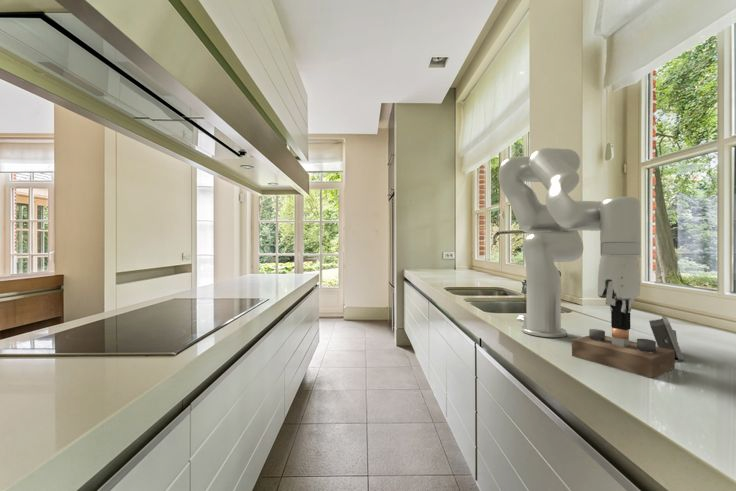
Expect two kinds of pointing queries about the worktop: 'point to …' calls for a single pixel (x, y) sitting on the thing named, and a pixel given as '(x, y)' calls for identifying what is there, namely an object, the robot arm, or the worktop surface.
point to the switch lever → (597, 335)
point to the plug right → (646, 345)
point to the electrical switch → (665, 336)
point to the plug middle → (620, 337)
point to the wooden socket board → (624, 356)
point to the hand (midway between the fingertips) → (620, 328)
